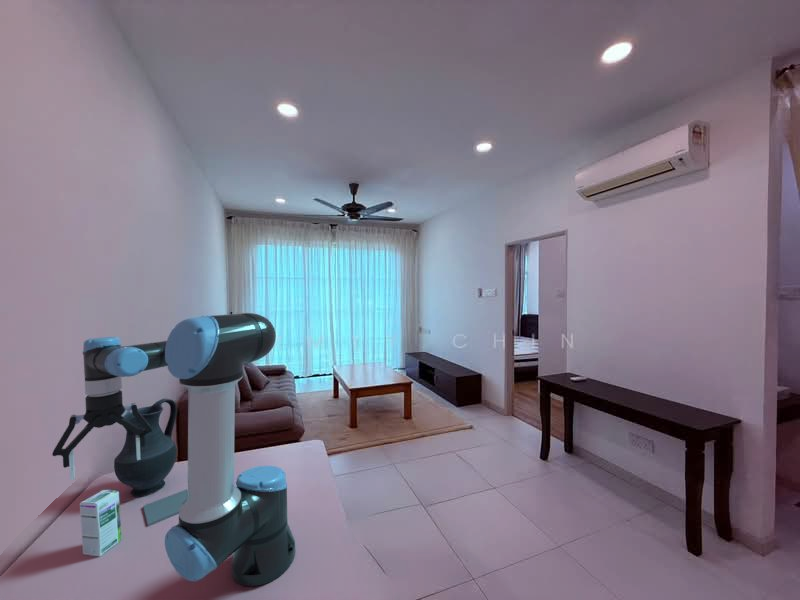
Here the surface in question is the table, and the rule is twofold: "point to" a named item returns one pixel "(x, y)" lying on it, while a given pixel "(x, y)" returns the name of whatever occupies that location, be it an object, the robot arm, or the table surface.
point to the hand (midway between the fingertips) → (107, 467)
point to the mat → (164, 507)
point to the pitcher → (147, 452)
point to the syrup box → (100, 522)
